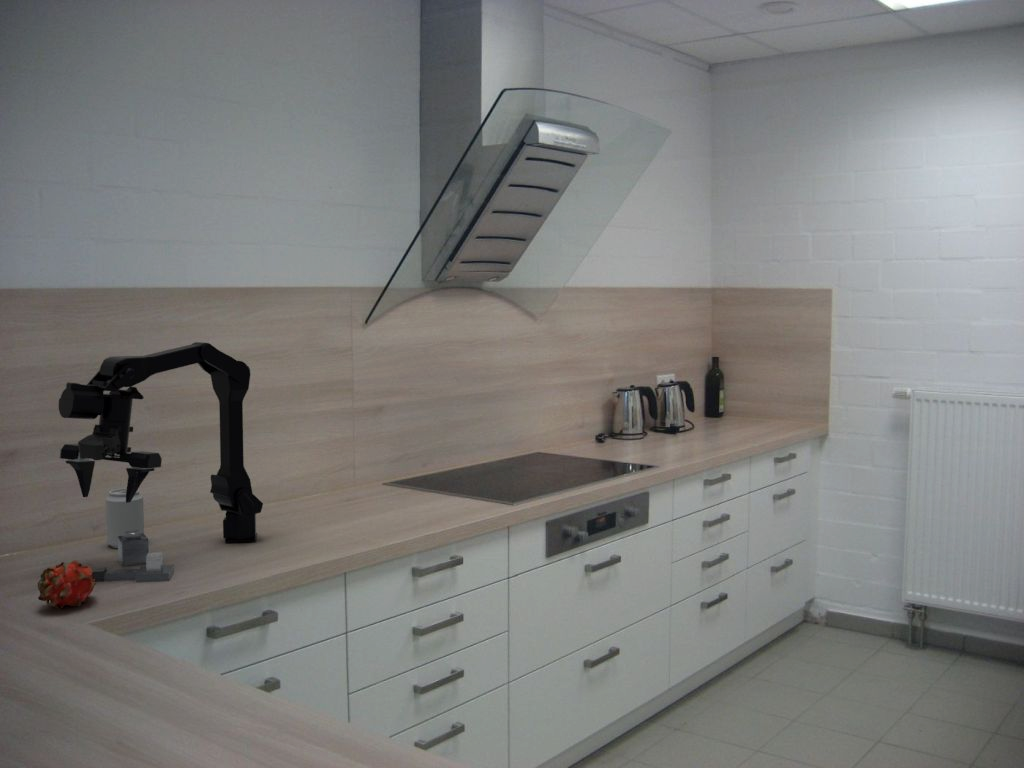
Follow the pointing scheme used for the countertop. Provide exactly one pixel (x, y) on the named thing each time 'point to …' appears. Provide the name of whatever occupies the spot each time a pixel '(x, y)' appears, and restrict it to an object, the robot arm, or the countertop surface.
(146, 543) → the dark grey block
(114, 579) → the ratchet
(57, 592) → the dragon fruit
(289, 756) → the countertop surface
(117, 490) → the can
